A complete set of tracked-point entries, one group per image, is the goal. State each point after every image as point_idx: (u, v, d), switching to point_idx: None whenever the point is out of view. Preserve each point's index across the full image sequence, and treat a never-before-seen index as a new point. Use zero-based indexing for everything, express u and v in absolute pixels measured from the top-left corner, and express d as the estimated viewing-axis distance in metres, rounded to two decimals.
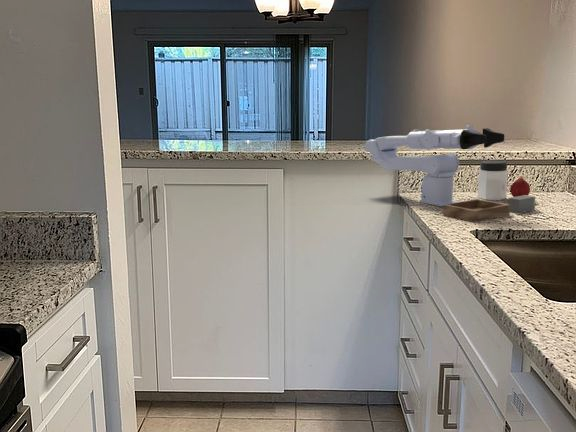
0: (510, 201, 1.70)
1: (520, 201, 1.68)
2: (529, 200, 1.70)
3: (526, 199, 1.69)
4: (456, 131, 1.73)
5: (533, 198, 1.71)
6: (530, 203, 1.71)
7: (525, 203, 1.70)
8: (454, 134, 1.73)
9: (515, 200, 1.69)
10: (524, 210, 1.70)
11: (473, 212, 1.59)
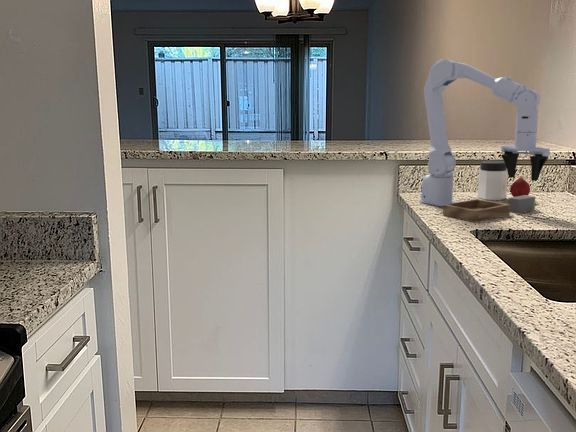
0: (510, 201, 1.70)
1: (520, 201, 1.68)
2: (529, 200, 1.70)
3: (526, 199, 1.69)
4: None
5: (533, 198, 1.71)
6: (530, 203, 1.71)
7: (525, 203, 1.70)
8: None
9: (515, 200, 1.69)
10: (524, 210, 1.70)
11: (473, 212, 1.59)
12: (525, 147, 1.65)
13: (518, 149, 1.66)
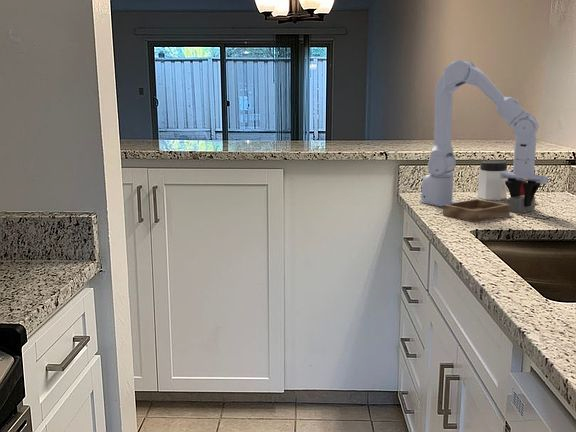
0: (510, 201, 1.70)
1: (520, 201, 1.68)
2: None
3: None
4: None
5: (533, 198, 1.71)
6: None
7: None
8: (534, 163, 1.68)
9: (515, 200, 1.69)
10: (524, 210, 1.70)
11: (473, 212, 1.59)
12: (523, 174, 1.67)
13: (516, 176, 1.68)
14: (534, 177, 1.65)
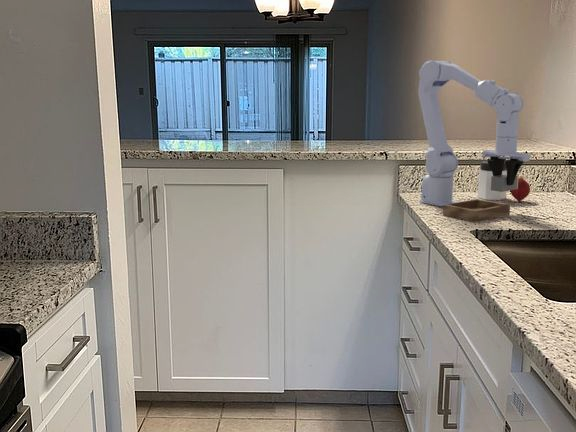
0: (492, 180, 1.67)
1: (503, 179, 1.65)
2: None
3: None
4: None
5: (516, 177, 1.68)
6: None
7: None
8: None
9: (497, 178, 1.66)
10: (507, 189, 1.67)
11: (473, 212, 1.59)
12: (506, 152, 1.63)
13: (499, 154, 1.65)
14: (516, 155, 1.62)
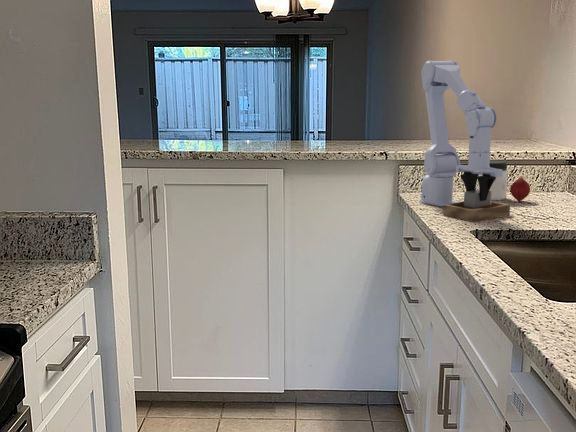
0: (465, 195, 1.65)
1: (475, 195, 1.63)
2: None
3: None
4: None
5: (489, 192, 1.66)
6: None
7: None
8: (489, 156, 1.62)
9: (470, 194, 1.64)
10: (480, 204, 1.64)
11: (473, 212, 1.59)
12: (478, 167, 1.62)
13: (471, 169, 1.63)
14: (488, 170, 1.60)
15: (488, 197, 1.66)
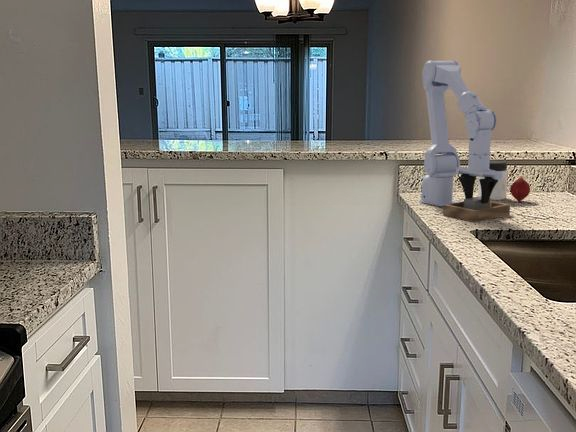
0: (465, 203, 1.66)
1: (475, 202, 1.63)
2: None
3: None
4: None
5: (489, 199, 1.66)
6: (486, 205, 1.66)
7: (480, 204, 1.65)
8: (489, 158, 1.62)
9: (470, 201, 1.64)
10: None
11: (473, 212, 1.59)
12: (478, 170, 1.62)
13: (471, 172, 1.63)
14: (488, 173, 1.60)
15: (488, 204, 1.66)
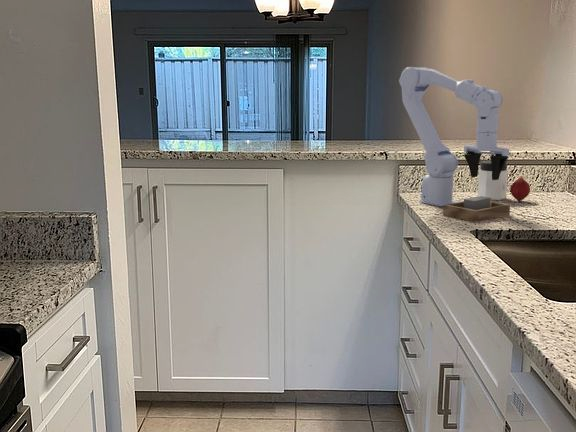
0: (465, 203, 1.66)
1: (475, 202, 1.63)
2: (484, 202, 1.65)
3: (481, 200, 1.65)
4: None
5: (489, 199, 1.66)
6: (486, 205, 1.66)
7: (480, 204, 1.65)
8: (496, 136, 1.69)
9: (470, 201, 1.64)
10: None
11: (473, 212, 1.59)
12: (486, 147, 1.68)
13: (479, 149, 1.69)
14: (496, 149, 1.66)
15: (488, 204, 1.66)
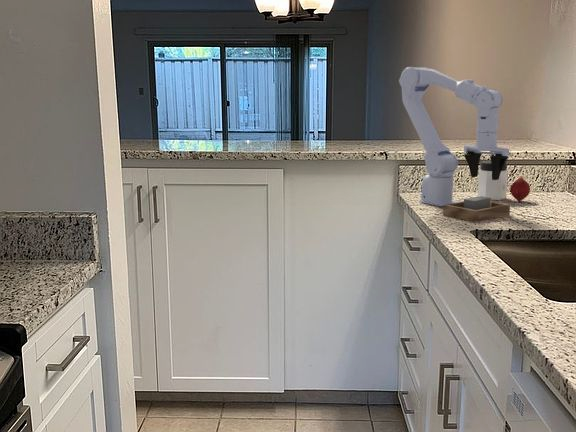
0: (465, 203, 1.66)
1: (475, 202, 1.63)
2: (484, 202, 1.65)
3: (481, 200, 1.65)
4: None
5: (489, 199, 1.66)
6: (486, 205, 1.66)
7: (480, 204, 1.65)
8: None
9: (470, 201, 1.64)
10: None
11: (473, 212, 1.59)
12: (486, 147, 1.68)
13: (479, 149, 1.69)
14: (496, 149, 1.66)
15: (488, 204, 1.66)
